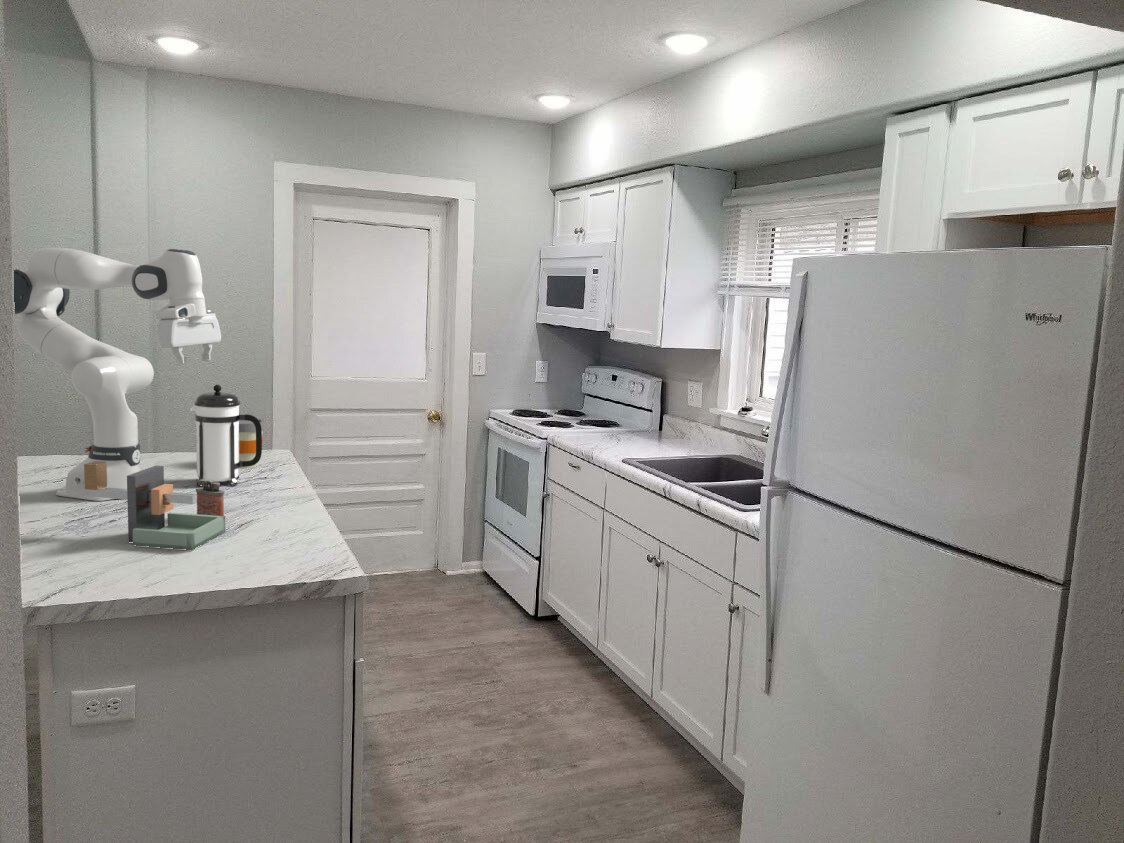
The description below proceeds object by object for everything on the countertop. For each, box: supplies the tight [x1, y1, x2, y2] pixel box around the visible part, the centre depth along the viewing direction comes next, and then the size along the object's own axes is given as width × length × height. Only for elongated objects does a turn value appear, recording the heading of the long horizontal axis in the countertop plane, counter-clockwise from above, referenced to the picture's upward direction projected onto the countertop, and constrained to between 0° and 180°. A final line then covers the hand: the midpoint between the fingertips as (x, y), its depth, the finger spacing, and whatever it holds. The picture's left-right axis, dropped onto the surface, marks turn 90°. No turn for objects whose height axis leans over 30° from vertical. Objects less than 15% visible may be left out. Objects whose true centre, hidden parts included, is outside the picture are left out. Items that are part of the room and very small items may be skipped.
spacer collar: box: [151, 483, 174, 515], centre depth 207 cm, size 2×6×6 cm, turn 175°
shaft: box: [84, 461, 197, 505], centre depth 206 cm, size 26×4×8 cm, turn 85°
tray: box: [132, 511, 226, 551], centre depth 207 cm, size 14×16×4 cm
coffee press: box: [189, 384, 263, 487], centre depth 264 cm, size 17×16×30 cm
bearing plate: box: [126, 465, 166, 543], centre depth 207 cm, size 2×12×16 cm, turn 175°
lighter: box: [195, 479, 225, 516], centre depth 226 cm, size 8×3×10 cm, turn 71°
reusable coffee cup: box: [239, 418, 265, 469], centre depth 290 cm, size 13×13×15 cm
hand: (194, 362), depth 235 cm, fingers open, 8 cm apart
